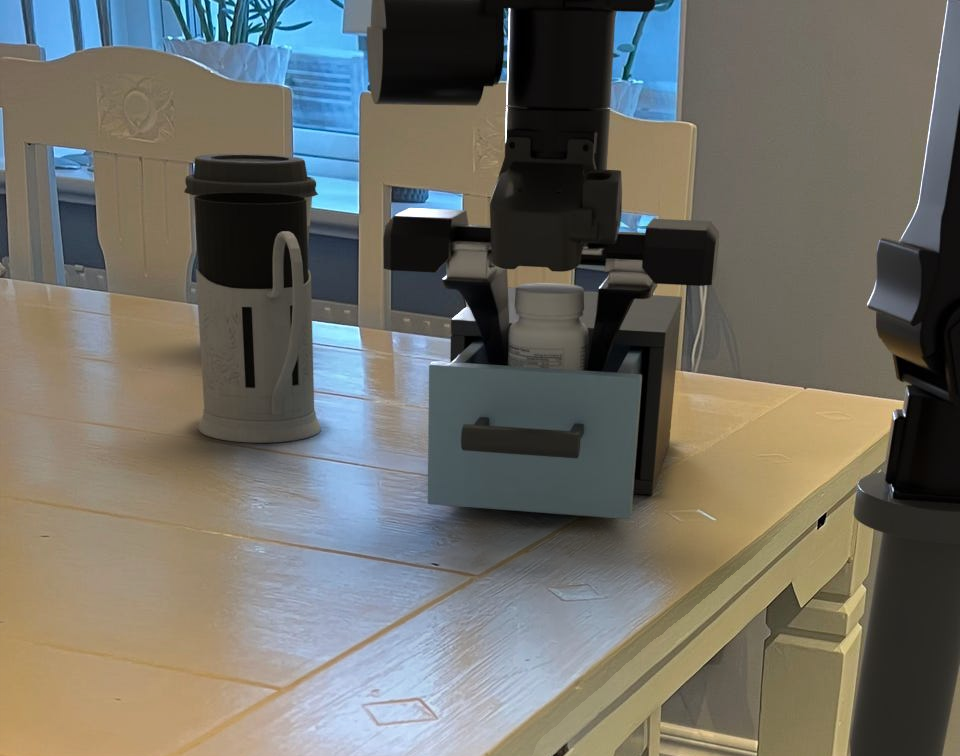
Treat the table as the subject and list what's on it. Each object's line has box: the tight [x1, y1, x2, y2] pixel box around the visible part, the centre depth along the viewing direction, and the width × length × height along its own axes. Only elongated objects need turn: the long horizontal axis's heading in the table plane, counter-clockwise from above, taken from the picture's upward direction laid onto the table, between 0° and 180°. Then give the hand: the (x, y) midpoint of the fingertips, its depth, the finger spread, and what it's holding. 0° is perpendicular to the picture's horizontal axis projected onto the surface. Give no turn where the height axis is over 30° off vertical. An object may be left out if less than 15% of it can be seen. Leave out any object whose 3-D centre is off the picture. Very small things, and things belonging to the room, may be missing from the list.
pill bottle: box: [508, 282, 588, 371], centre depth 94 cm, size 5×5×8 cm
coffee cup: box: [183, 153, 319, 243], centre depth 138 cm, size 11×11×15 cm
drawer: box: [427, 337, 646, 520], centre depth 96 cm, size 18×12×8 cm, turn 170°
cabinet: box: [449, 286, 683, 496], centre depth 106 cm, size 15×13×10 cm
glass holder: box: [194, 192, 322, 444], centre depth 109 cm, size 9×14×15 cm, turn 24°
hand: (545, 403), depth 95 cm, fingers closed on pill bottle, 5 cm apart
